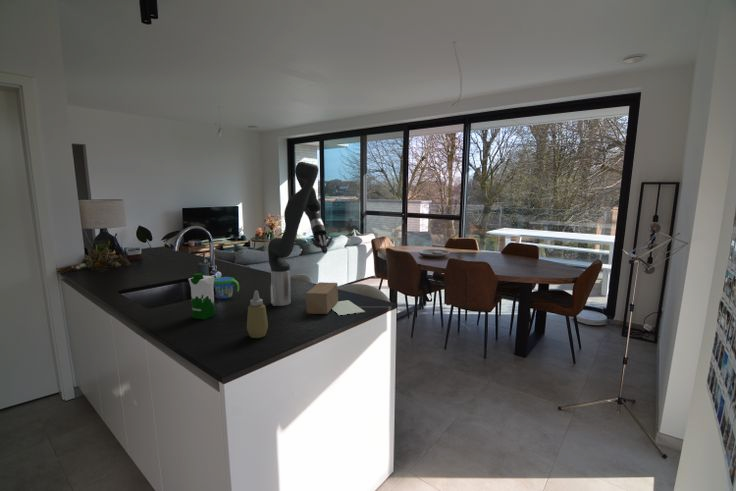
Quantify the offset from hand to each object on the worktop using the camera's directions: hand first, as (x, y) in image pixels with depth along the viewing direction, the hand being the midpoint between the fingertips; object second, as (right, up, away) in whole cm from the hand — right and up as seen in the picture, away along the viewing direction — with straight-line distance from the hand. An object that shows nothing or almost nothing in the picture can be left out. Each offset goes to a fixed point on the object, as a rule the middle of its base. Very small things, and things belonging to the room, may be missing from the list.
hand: (325, 252), depth 200 cm
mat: (+12, -27, -21) cm, 36 cm away
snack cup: (-54, -24, -4) cm, 59 cm away
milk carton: (-51, -28, -34) cm, 68 cm away
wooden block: (+3, -20, -12) cm, 24 cm away
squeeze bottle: (-20, -32, -57) cm, 68 cm away
